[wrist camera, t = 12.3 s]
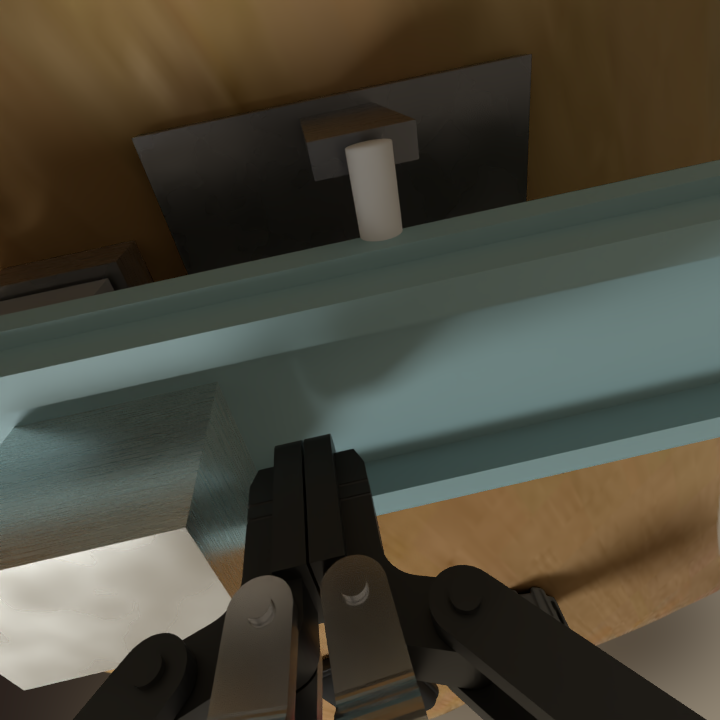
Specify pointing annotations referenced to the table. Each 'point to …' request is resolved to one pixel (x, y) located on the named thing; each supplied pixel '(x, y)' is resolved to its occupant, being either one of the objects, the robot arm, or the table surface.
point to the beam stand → (316, 172)
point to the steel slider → (118, 531)
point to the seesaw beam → (420, 336)
